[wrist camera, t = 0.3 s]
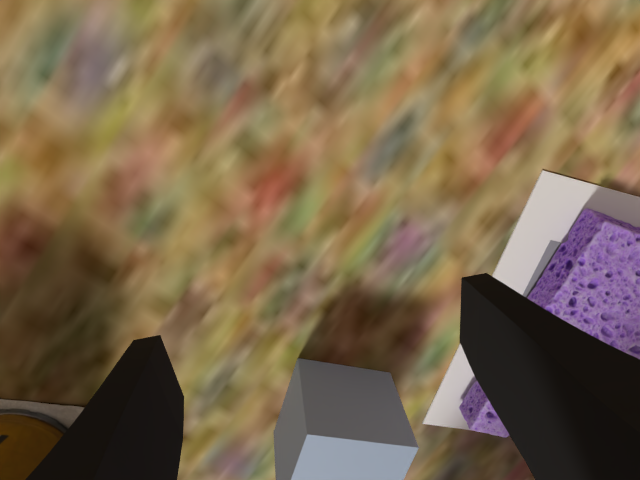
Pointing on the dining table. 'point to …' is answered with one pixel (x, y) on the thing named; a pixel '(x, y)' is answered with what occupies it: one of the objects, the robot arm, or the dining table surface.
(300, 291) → the dining table surface
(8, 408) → the condiment
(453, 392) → the letter
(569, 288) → the sponges
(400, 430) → the cube
